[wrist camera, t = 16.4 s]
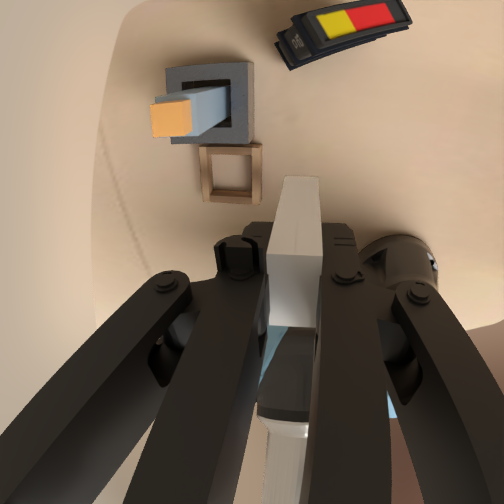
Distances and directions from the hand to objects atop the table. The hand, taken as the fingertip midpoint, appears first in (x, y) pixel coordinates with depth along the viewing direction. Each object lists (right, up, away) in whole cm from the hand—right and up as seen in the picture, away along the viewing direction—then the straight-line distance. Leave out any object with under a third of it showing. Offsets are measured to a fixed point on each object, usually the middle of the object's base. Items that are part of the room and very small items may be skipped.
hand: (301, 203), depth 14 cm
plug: (-7, +17, +21) cm, 28 cm away
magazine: (+7, +23, +14) cm, 28 cm away
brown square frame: (-5, +9, +26) cm, 28 cm away
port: (-7, +17, +21) cm, 28 cm away
